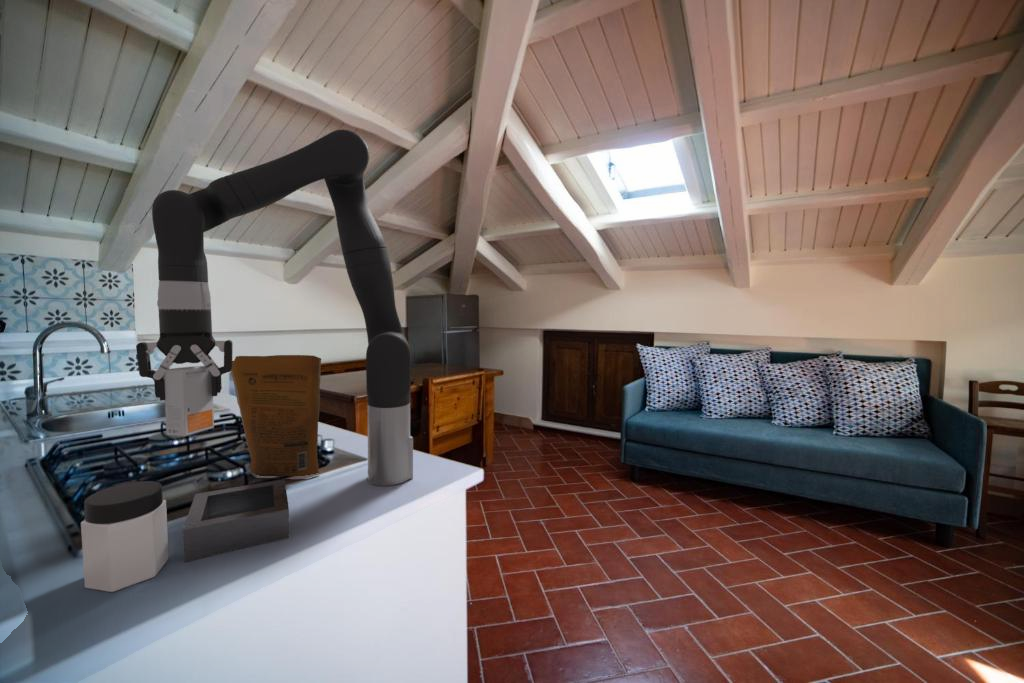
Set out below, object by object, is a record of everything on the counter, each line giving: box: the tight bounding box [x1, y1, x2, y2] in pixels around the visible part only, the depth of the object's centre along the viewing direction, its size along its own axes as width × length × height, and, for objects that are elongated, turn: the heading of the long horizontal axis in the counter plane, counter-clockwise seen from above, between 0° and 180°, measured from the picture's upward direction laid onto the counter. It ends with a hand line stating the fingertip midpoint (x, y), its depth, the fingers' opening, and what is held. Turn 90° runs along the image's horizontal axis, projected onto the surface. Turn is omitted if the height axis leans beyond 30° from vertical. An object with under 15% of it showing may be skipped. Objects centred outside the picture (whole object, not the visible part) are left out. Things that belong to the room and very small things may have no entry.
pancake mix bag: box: [230, 354, 322, 476], centre depth 94 cm, size 7×19×28 cm, turn 87°
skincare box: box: [164, 364, 215, 437], centre depth 77 cm, size 6×4×12 cm
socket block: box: [182, 479, 290, 563], centre depth 72 cm, size 14×14×5 cm
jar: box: [80, 480, 170, 593], centre depth 60 cm, size 9×8×12 cm
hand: (189, 397), depth 77 cm, fingers closed on skincare box, 7 cm apart
